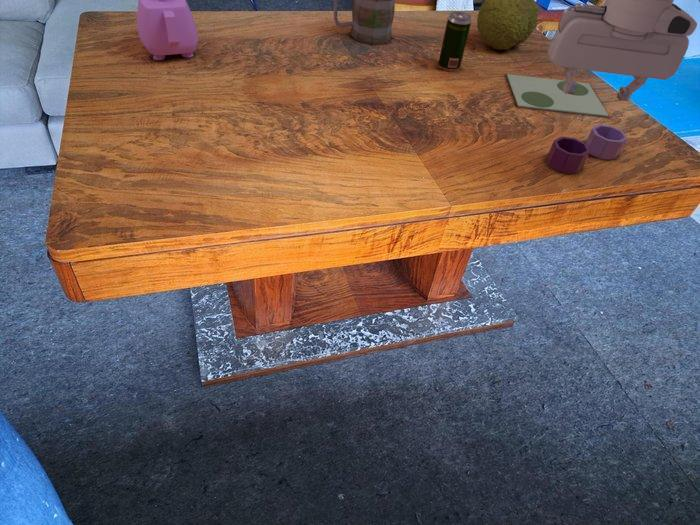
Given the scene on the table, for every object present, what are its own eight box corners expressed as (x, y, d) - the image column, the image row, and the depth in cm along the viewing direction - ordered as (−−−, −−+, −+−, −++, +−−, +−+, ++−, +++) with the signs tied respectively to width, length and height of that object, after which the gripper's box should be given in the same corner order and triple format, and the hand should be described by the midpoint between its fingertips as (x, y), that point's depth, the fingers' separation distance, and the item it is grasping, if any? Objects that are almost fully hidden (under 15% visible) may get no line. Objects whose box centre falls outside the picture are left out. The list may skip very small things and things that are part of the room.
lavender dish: (611, 144, 103) (620, 126, 100) (621, 161, 98) (630, 143, 96) (581, 141, 103) (589, 123, 100) (589, 157, 98) (598, 139, 96)
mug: (389, 30, 137) (396, -19, 129) (392, 46, 130) (399, -5, 121) (331, 25, 136) (334, -25, 128) (331, 41, 129) (334, -11, 120)
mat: (588, 84, 123) (589, 82, 123) (608, 117, 111) (609, 115, 111) (506, 75, 123) (507, 73, 122) (517, 107, 111) (518, 104, 111)
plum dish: (575, 157, 98) (584, 138, 95) (584, 175, 94) (593, 156, 91) (543, 153, 98) (551, 135, 95) (550, 171, 94) (559, 153, 91)
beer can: (463, 71, 122) (476, 19, 114) (443, 72, 121) (454, 19, 112) (454, 62, 126) (466, 10, 117) (434, 63, 124) (444, 11, 116)
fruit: (528, 63, 129) (517, 7, 119) (476, 66, 138) (462, 14, 127) (549, 25, 135) (541, -31, 125) (498, 31, 144) (486, -22, 134)
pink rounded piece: (208, 65, 112) (201, 4, 104) (149, 71, 108) (136, 8, 99) (189, 31, 125) (181, -26, 116) (135, 35, 121) (123, -24, 112)
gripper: (571, 8, 74) (538, 97, 84) (708, 26, 75) (659, 112, 84) (562, -6, 79) (531, 80, 89) (691, 11, 79) (646, 94, 89)
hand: (594, 95), depth 87 cm, fingers open, 8 cm apart
